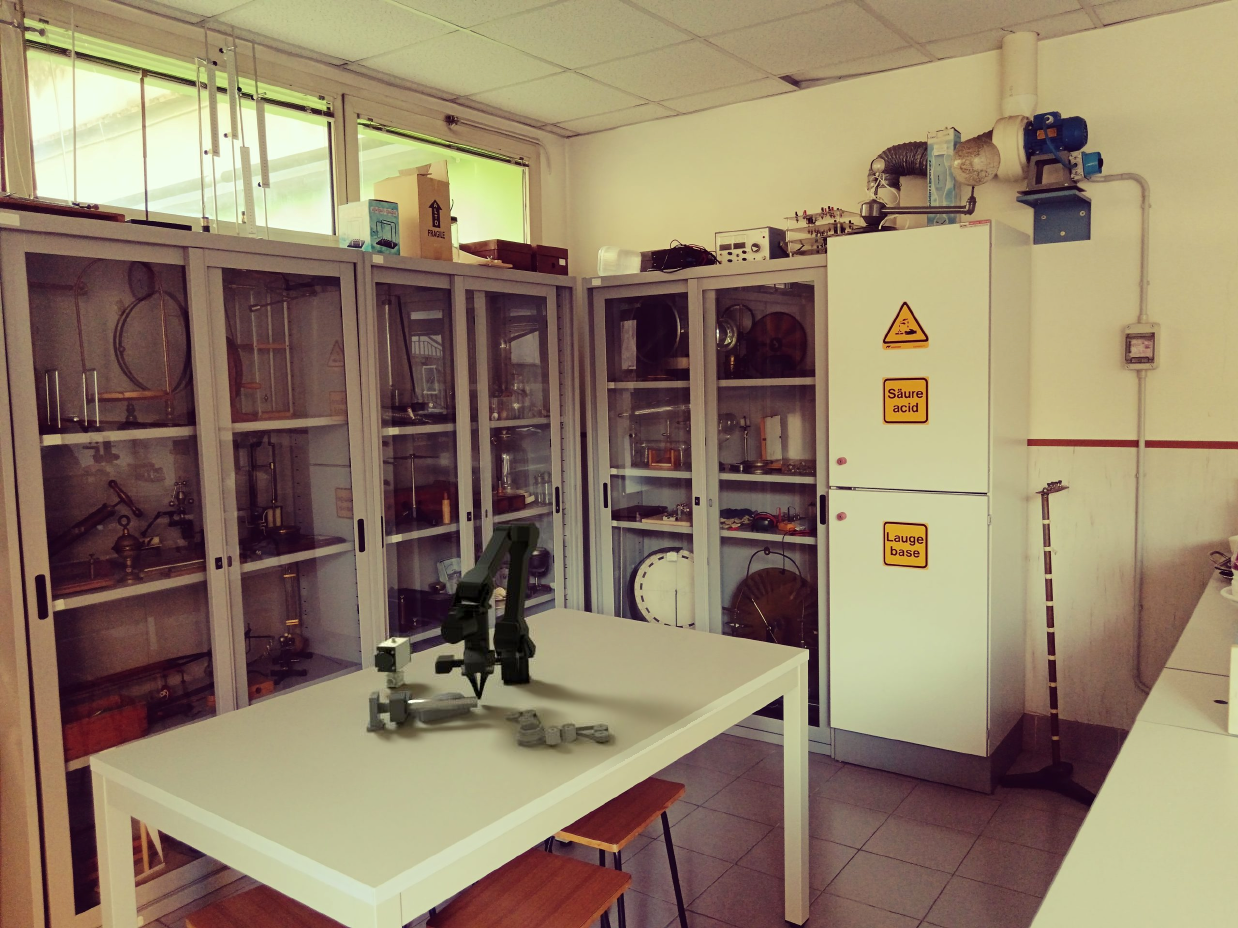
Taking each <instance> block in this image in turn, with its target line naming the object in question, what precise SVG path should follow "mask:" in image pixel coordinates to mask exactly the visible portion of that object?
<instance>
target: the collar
mask: <svg viewBox="0 0 1238 928" xmlns="http://www.w3.org/2000/svg"><path fill="white" fill-rule="evenodd" d="M412 695H413V694H412V690H405V691H404V690H403V691H397V692H392V693H391V694H390V696H389V699H388V702H389V712H390V713H389V723H399V722H401V723H402V722H406V721H405V720H406V718H408V714H409V712H404V701H410V700H412V699H413V698H412V697H413V696H412Z"/></svg>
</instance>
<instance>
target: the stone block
mask: <svg viewBox="0 0 1238 928" xmlns="http://www.w3.org/2000/svg"><path fill="white" fill-rule="evenodd" d="M458 697H466V696H465V695H464V694H462V693H461V692H460V691H459V692H456V691H452V692H451V691H449V692H445V693H439V694H436V695H434V696H432V697H419V698H412V700H426V699H442V698H458ZM470 710H471V708H464V709H448V710H433V711H417V712H410V714H411V716H413V717H414V718H416V719H417V720H419V721H420V722H421V723H426V722H431V721H435V720H441V719H445V718H449V717H454V716H458V715H464V714H466V713H468V712H470Z"/></svg>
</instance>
